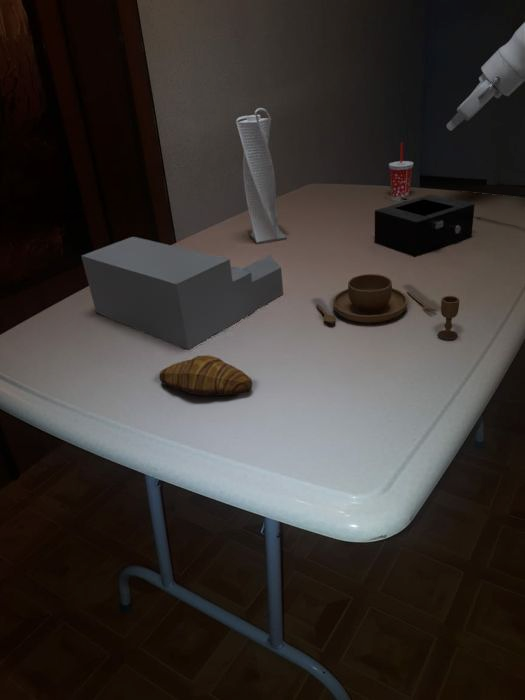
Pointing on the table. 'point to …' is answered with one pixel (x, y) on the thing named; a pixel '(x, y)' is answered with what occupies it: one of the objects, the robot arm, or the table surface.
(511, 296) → the table surface
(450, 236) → the black open top box
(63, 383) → the table surface
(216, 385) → the croissant
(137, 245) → the grey stepped block
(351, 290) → the place setting
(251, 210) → the skyscraper
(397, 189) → the beverage cup
